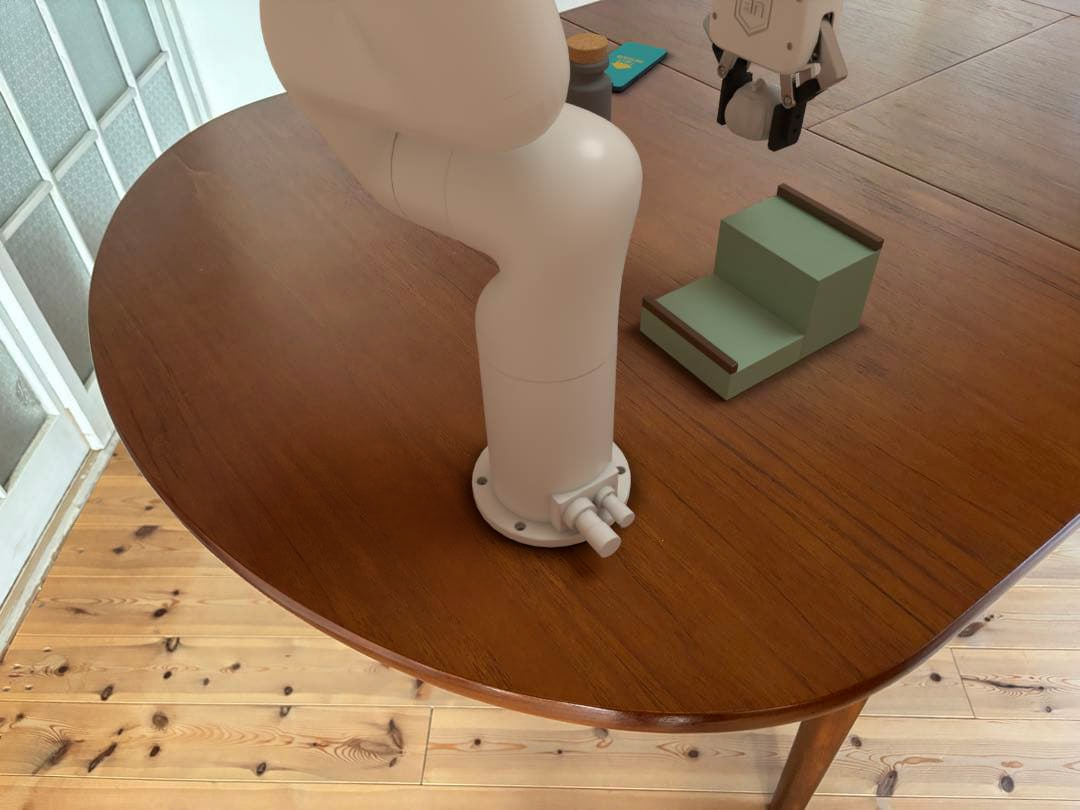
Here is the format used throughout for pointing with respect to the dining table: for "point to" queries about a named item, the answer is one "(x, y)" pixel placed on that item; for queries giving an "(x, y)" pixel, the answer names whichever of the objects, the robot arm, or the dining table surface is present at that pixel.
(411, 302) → the dining table surface
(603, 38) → the bottle
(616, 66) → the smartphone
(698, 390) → the dining table surface
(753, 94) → the garlic
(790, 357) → the shelf
